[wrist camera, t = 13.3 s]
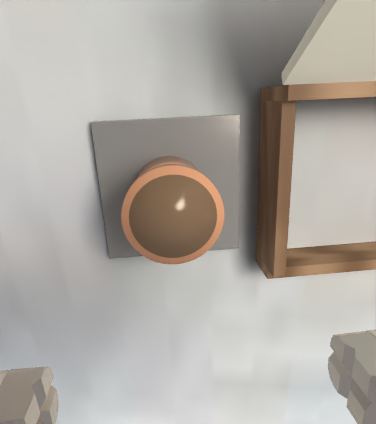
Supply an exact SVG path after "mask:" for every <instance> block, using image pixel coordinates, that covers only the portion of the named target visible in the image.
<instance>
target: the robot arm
mask: <svg viewBox="0 0 376 424" xmlns="http://www.w3.org/2000/svg"><path fill="white" fill-rule="evenodd" d="M330 346H331V348H332V349H333V351H334V352H333V354H332V355H331V356H330V357H329V360H328V370H329V375H330V379H331V381H332V383H333V386H334V387H335V389H336V390H337V392H338V393H339V394H341V395H342V396H344V397H345V398H347V408H348V410H349V411H350V413H351V414H352V416H353V417H354V419H355V420H356V422H357V424H376V330H369V331H362V332H354V333H346V334H337V335H333V337H332V338H331V343H330ZM52 380H53V374H52V370H51V368H50V367H36V368H24V369H12V370H6V371H0V424H55V422H56V419H57V412H58V395H57V390H56V389H55V388H54V387H52V386H51V382H52Z"/></svg>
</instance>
